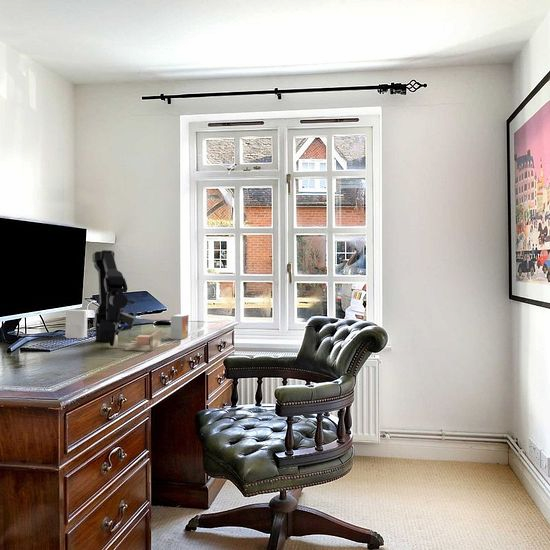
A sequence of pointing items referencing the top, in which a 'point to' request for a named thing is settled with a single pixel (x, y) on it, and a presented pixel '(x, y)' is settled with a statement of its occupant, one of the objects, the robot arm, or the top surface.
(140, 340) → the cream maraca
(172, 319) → the small box
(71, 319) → the white rectangular block
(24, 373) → the top surface
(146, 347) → the lane rack
